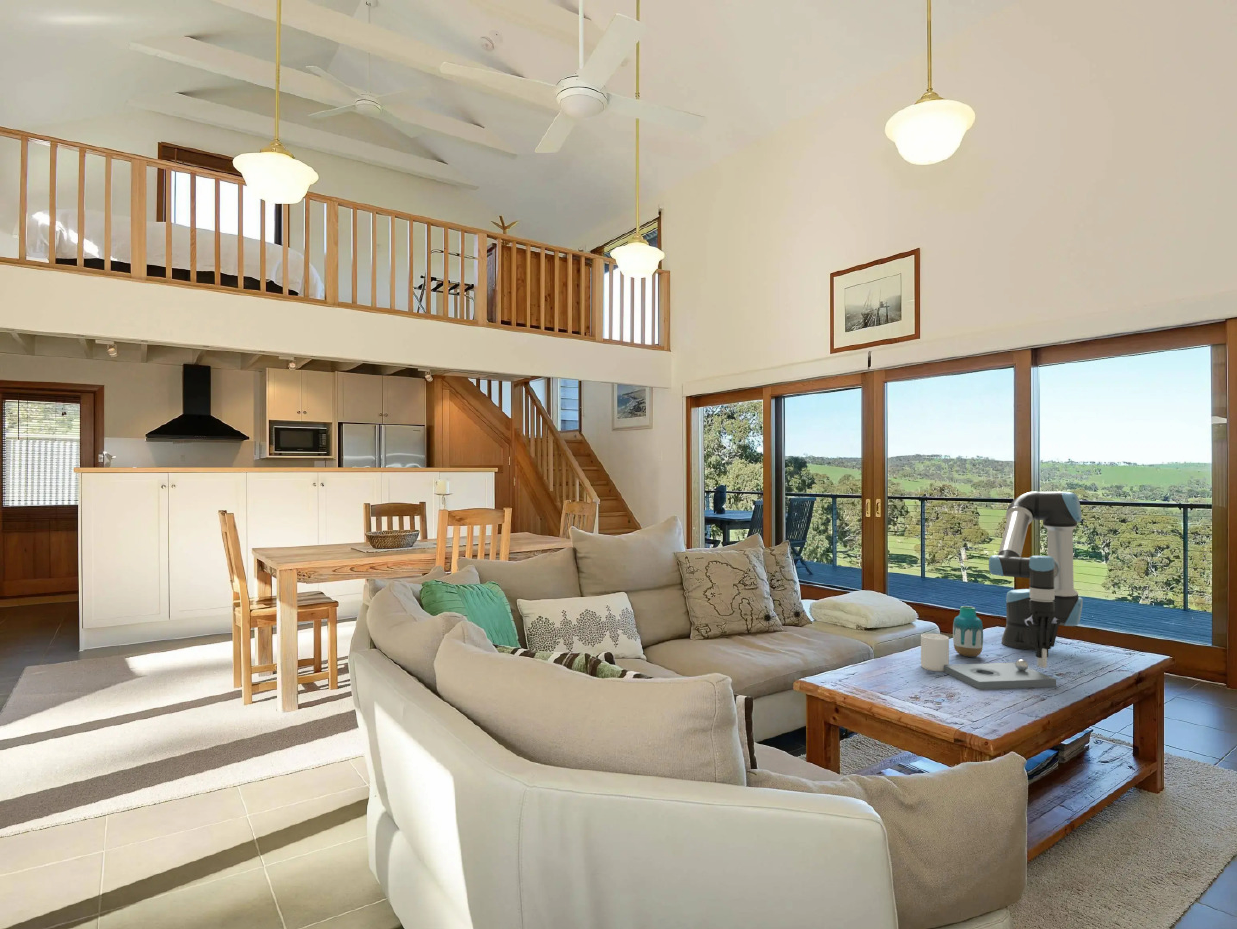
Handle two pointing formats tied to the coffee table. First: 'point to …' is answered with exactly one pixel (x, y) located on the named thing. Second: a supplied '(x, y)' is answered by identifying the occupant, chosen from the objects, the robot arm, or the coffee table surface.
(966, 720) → the coffee table surface
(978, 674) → the grey plate with hole
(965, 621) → the vase
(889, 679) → the coffee table surface
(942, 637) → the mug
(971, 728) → the coffee table surface
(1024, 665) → the ball
